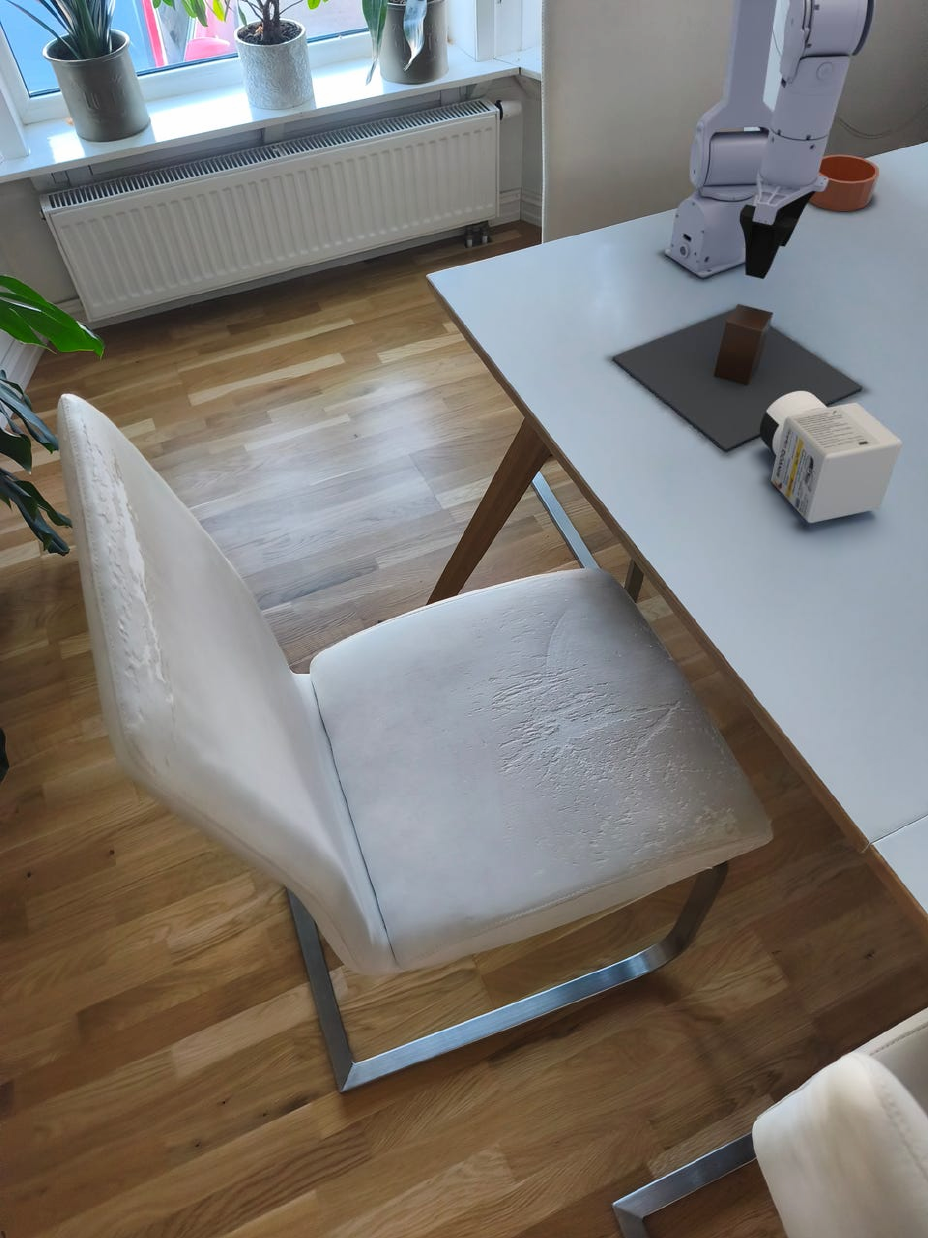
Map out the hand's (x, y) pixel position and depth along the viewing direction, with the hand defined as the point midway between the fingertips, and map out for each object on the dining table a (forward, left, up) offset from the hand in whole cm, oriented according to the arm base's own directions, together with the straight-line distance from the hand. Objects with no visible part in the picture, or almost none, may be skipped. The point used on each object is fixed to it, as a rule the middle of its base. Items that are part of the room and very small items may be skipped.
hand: (766, 259), depth 95 cm
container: (-13, -28, -6) cm, 32 cm away
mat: (-6, -4, -10) cm, 13 cm away
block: (-6, -5, -10) cm, 12 cm away
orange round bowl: (+36, +21, -10) cm, 43 cm away
